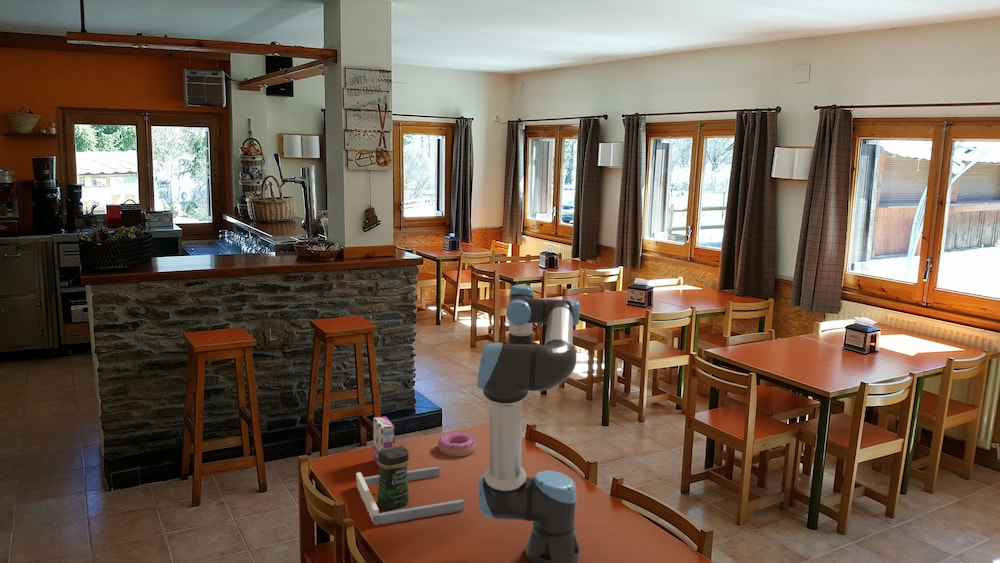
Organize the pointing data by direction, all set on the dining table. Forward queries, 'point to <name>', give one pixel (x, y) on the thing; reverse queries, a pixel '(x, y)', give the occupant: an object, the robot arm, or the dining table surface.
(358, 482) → the channel
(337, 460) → the dining table surface
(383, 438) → the candy bar box
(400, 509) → the trap pads
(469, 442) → the donut
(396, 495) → the coffee jar
